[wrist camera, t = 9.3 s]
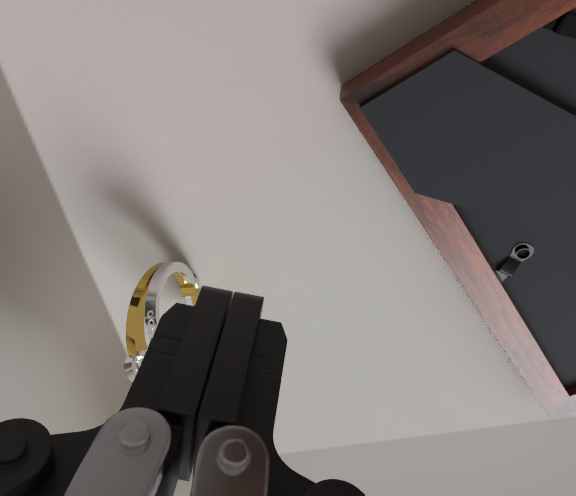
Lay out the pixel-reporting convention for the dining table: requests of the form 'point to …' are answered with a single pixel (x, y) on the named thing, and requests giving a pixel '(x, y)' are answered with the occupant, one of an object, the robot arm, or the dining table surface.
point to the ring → (153, 308)
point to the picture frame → (492, 169)
